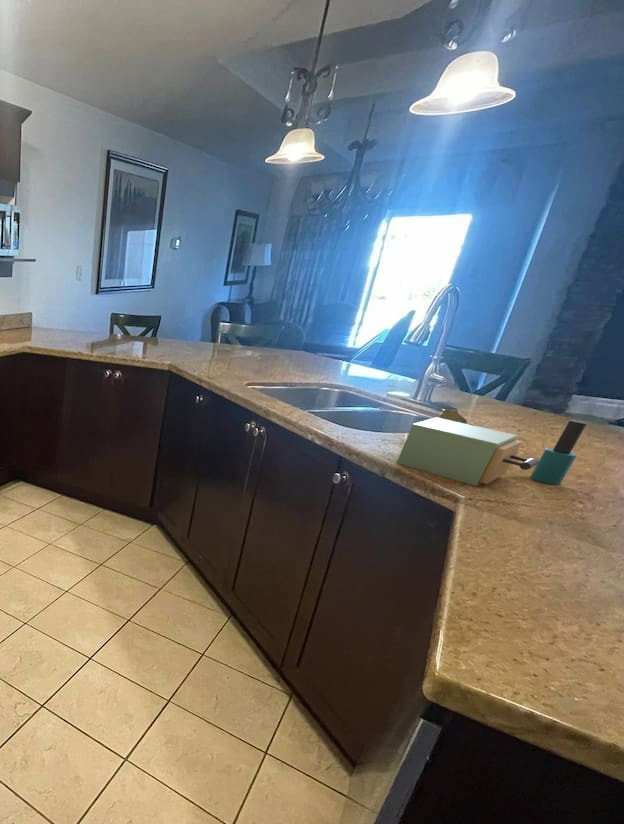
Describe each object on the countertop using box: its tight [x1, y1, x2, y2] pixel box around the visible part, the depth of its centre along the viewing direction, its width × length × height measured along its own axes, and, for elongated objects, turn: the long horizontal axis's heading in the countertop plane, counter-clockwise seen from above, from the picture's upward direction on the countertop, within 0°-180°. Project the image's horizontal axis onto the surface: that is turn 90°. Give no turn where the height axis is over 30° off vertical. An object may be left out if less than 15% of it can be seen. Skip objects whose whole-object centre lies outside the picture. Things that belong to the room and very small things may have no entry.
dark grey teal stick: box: [530, 419, 588, 486], centre depth 108 cm, size 5×5×14 cm
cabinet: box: [396, 416, 519, 487], centre depth 113 cm, size 15×14×10 cm
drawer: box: [480, 439, 539, 485], centre depth 110 cm, size 18×13×8 cm
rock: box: [438, 408, 468, 424], centre depth 128 cm, size 11×9×10 cm
